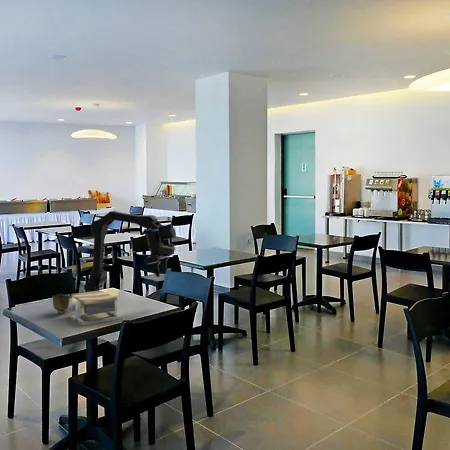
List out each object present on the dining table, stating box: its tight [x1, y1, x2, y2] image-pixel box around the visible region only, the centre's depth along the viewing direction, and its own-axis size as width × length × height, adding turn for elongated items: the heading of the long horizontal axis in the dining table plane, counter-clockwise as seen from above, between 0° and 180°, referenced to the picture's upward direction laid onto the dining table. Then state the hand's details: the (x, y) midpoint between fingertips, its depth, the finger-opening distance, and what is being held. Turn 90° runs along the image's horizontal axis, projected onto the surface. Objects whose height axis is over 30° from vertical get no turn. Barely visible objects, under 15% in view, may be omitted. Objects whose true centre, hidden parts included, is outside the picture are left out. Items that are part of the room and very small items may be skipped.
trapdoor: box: [70, 290, 118, 316], centre depth 220 cm, size 16×14×6 cm
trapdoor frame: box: [70, 295, 124, 326], centre depth 217 cm, size 13×18×8 cm
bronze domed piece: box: [51, 293, 71, 315], centre depth 223 cm, size 8×7×8 cm
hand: (161, 274), depth 236 cm, fingers open, 9 cm apart
